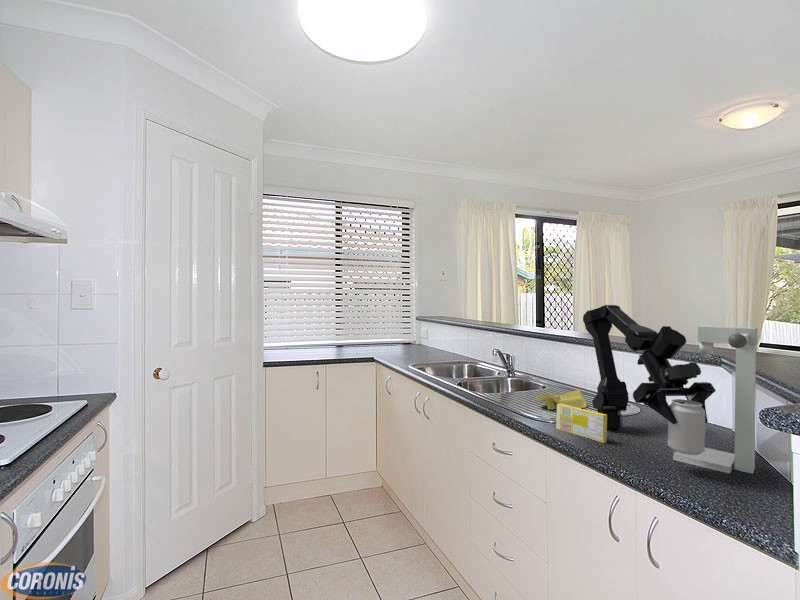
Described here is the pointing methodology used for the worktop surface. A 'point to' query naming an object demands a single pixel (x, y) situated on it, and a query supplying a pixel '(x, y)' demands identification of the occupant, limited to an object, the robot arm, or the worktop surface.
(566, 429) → the candy box
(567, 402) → the plastic component
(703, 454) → the plate
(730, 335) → the press frame
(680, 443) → the can
